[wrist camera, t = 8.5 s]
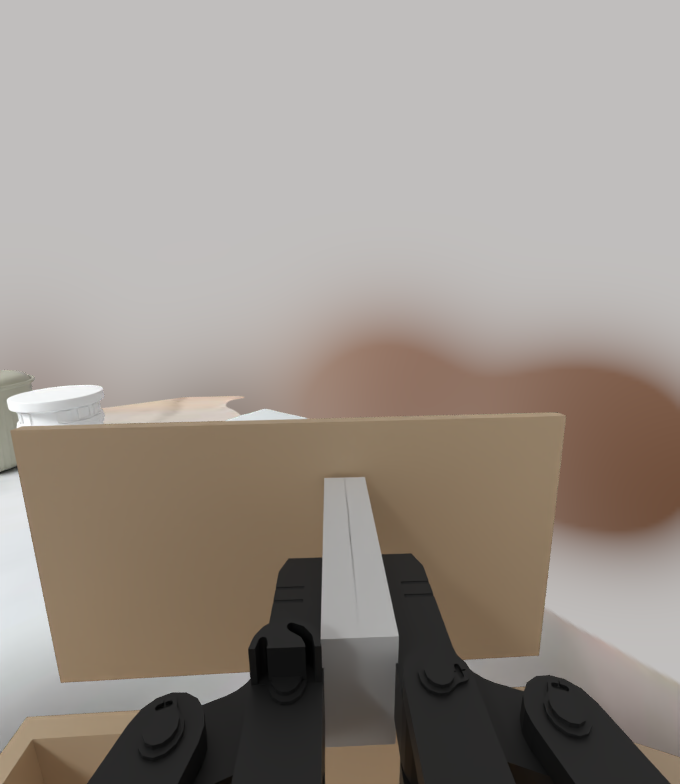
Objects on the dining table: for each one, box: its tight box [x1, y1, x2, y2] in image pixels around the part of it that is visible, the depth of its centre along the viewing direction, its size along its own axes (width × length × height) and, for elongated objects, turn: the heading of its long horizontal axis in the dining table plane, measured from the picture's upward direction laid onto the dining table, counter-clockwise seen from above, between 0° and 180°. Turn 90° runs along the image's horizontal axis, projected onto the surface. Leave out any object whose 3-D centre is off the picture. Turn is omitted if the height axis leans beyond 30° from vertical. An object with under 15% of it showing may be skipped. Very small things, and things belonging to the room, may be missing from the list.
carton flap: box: [10, 412, 566, 683], centre depth 14 cm, size 1×20×10 cm, turn 92°
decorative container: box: [7, 385, 105, 428], centre depth 54 cm, size 12×12×18 cm
